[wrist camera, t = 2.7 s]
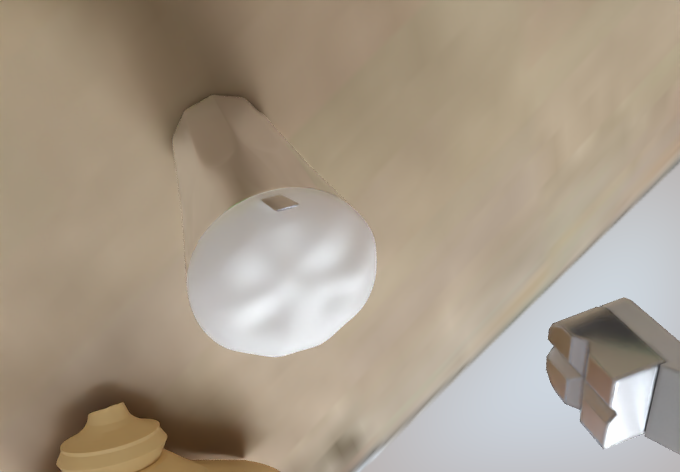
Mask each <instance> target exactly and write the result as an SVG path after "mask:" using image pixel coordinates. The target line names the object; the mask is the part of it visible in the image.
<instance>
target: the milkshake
mask: <svg viewBox="0 0 680 472" xmlns="http://www.w3.org/2000/svg"><path fill="white" fill-rule="evenodd" d="M172 145H173V153H174V161H175V168H176V176H177V183H178V191H179V199H180V207H181V216H182V228H183V242H184V257H185V271H186V284H187V293H188V299H189V302H190V306H191V309H192V312H193V314H194V316H195V318H196V320H197V322H198V324H199V325H200V327H201V328H202V329H203V330H204V332H205V333H206V334H207V335H208V336H209V337H210V338H211V339H212V340H214V341H215V342H216V343H218V344H219V345H221V346H223V347H225V348H228V349H230V350H234V351H238V352H244V353H250V354H255V355H261V356H267V357H281V356H285V355H288V354H291V353H294V352H298V351H301V350H305V349H309V348H313V347H315V346H318V345H320V344H322V343H324V342H325V341H326V340H328V339H329V338H330V337H331V336H333V335H334V334H335V333H336V332H337V331H338V330H339V329H340V328H341V327H342V326H343V325H345V324H346V323H347V322H348V321H349V320H351V319H352V318H353V317H354V316H355V315H356V314H357V313H358V312H359V311H360V310H361V309H362V307H363V306H364V305H365V303H366V301H367V300H368V298H369V296H370V293H371V291H372V288H373V285H374V281H375V277H376V263H377V261H376V244H375V239H374V236H373V233H372V231H371V229H370V227H369V225H368V224H367V222H366V221H365V220H364V218H363V217H362V216H361V215H360V214H359V213H358V212H357V211H356V210H355V209H354V208H353V207H352V206H351V205H350V204H349V203H348V202H347V201H346V200H345V199H344V198H343V197H342V196H341V195H340V194H339V193H338V192H337V191H336V190H335V189H334V188H333V187H332V186H331V185H330V184H329V183H328V182H327V181H326V180H325V179H324V178H323V177H322V176H321V175H320V174H319V173H318V172H316V171H315V170H314V169H313V168H312V167H311V166H310V165H309V164H308V163H307V162H306V161H305V160H304V158H303V157H302V156H301V155H300V154H299V153H298V152H297V151H296V150H295V148H294V147H293V146H292V145H291V144H290V143H289V142H288V141H287V140H286V138H285V137H284V136H283V135H282V134H281V133H280V132H279V131H278V129H277V128H276V127H275V126H274V125H273V124H272V123H271V122H270V121H269V119H268V118H267V117H266V116H264V115H263V114H262V113H261V112H260V111H259V110H257V109H256V108H255V107H254V106H253V105H252V104H251V103H249V102H248V101H247V100H246V99H245V98H244V97H235V96H222V95H210V96H209V97H207V98H205V99H204V100H202V101H200V102H198V103H197V104H195V105H193V106H191V107H190V108H188V109H186V110H184V112H183V114H182V117H181V119H180V121H179V124H178V126H177V128H176V130H175V133H174V135H173V137H172Z"/></svg>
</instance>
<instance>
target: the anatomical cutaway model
mask: <svg viewBox="0 0 680 472" xmlns="http://www.w3.org/2000/svg"><path fill="white" fill-rule="evenodd" d="M166 439H167V435H166V433H165V432H164V431H163V430H162V429H161V428H160V423H159V422H158V421H157V420H154V419H145V418H142V419H140V418H137V417H134V416H133V415H132V414H130V413H129V411H128V409H127V408H126V406H125V404H124V402H121V403H118V404H115V405H112V406H109V407H108V408H105V409H102V410H98V411H95V412H92V413H89V415H88V420H87V424H86V425H85V427H84V428H83V430H81V431H80V432H79V433H78V434H76V435H74V436H72V437H70V438H69V439H67V440H66V441H64V442H63V443H62V444H61V446H60V449H61V452H60V455H59V457H58V460H57V462H56V463H57V466H58V467H59V468H60V469H61V471H62V472H280V471H278V470H277V469H275V468H272V467H270V466H267V465H264V464H261V463H257V462H252V461H246V460H188V459H186V458H184V457H182V456H179V455H177V454H175V453H172V452H170V451H168V450H166V449H163V447H164V445H165V442H166Z"/></svg>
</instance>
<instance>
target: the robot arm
mask: <svg viewBox="0 0 680 472" xmlns="http://www.w3.org/2000/svg"><path fill="white" fill-rule="evenodd" d="M548 340H549V341H550V342H551V343H552V344H553V345H554V347H553V348H552V349H551V351H550V352H549V354H548V355H547V362H546V370H547V373H548V376H549V380H550V383H551V384H552V386H553V388H554V390H555V391H556V393H557V394H558V396H559V397H560V398H561V399H562V400H563V402H564V403H565V404H567V405H569V406H572V407H574V408H577V409H579V410H580V422H581V423H582V425H583V426H584V427H585V428H586V429H587V431H588V432H589V433H590V434H591V435H592V436H593V438H594V439H596V441H597V442H598V443H599V445H600V446H601V447H602V448H603V449H606V448H608V447H611V446H613V445H616V444H619V443H621V442H624V441H627V440H629V439H632V438H634V437H637V436H640V435H642V434H645V437H647V438H649V439H651V440H653V441H655V442H657V443H659V444H661V445H663V446H664V447H666V448H668V449H670V450H672V451H674V452H676V453H678V454H680V342H679V341H678V340H677V339H676V338H675V337H674V336H673V335H671V334H670V333H669V332H668V331H667V330H666V329H664V328H663V327H662V326H661V325H660V324H659V323H657V322H656V321H655V320H654V319H653V318H652V317H650V316H649V315H648V314H647V313H645V312H644V311H643V310H642V309H641V308H640V307H639V306H637V305H636V304H635V303H634V302H633V301H631V300H629V299H627V298H621V299H618V300H616V301H613V302H610V303H607V304H605V305H602V306H600V307H595V308H593V309H590V310H587V311H584V312H582V313H579V314H577V315H574V316H572V317H569V318H566V319H563V320H561V321H558V322H556V323H553V324H552V326H551V327H550V329H549V335H548Z"/></svg>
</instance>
